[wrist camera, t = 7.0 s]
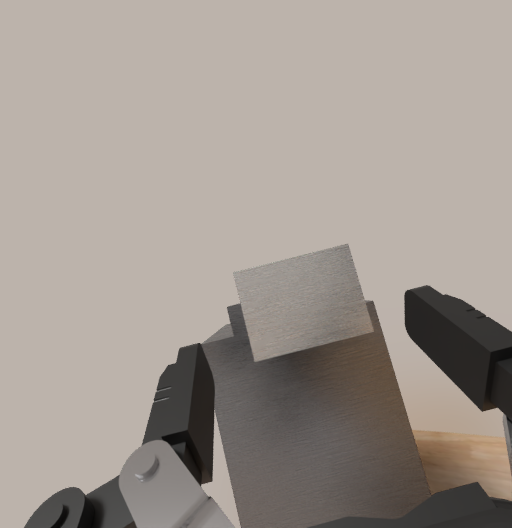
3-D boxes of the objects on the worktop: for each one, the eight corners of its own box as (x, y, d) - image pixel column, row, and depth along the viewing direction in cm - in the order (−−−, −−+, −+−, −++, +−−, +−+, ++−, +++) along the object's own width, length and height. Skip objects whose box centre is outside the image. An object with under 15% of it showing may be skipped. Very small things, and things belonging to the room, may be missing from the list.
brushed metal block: (373, 331, 9) (348, 243, 10) (254, 362, 9) (233, 272, 10) (294, 307, 31) (287, 280, 31) (259, 316, 31) (252, 289, 31)
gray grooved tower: (544, 875, 16) (364, 272, 19) (331, 936, 15) (193, 315, 19) (408, 597, 30) (320, 282, 34) (297, 626, 30) (222, 307, 34)
